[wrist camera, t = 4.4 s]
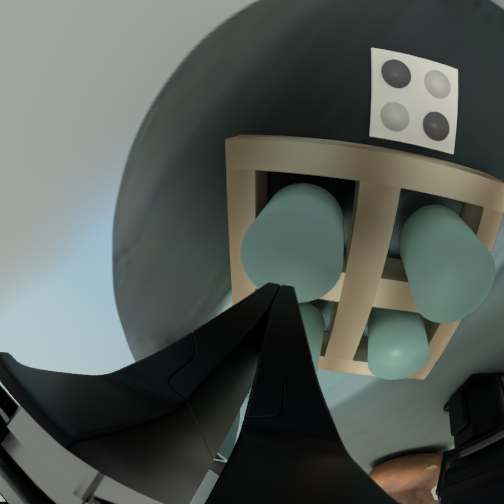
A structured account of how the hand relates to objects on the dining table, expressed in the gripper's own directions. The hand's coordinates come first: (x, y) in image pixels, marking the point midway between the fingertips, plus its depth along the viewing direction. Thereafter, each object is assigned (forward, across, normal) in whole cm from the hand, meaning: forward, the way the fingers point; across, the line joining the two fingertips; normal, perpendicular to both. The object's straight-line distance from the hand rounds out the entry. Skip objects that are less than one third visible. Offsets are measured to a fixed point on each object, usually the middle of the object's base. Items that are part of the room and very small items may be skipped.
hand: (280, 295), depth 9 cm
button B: (+6, -7, 0) cm, 9 cm away
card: (+8, -5, -7) cm, 12 cm away
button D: (+6, 0, 0) cm, 6 cm away
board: (+8, -3, +3) cm, 10 cm away
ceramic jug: (+9, -23, +39) cm, 47 cm away
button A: (+8, -7, +7) cm, 13 cm away
